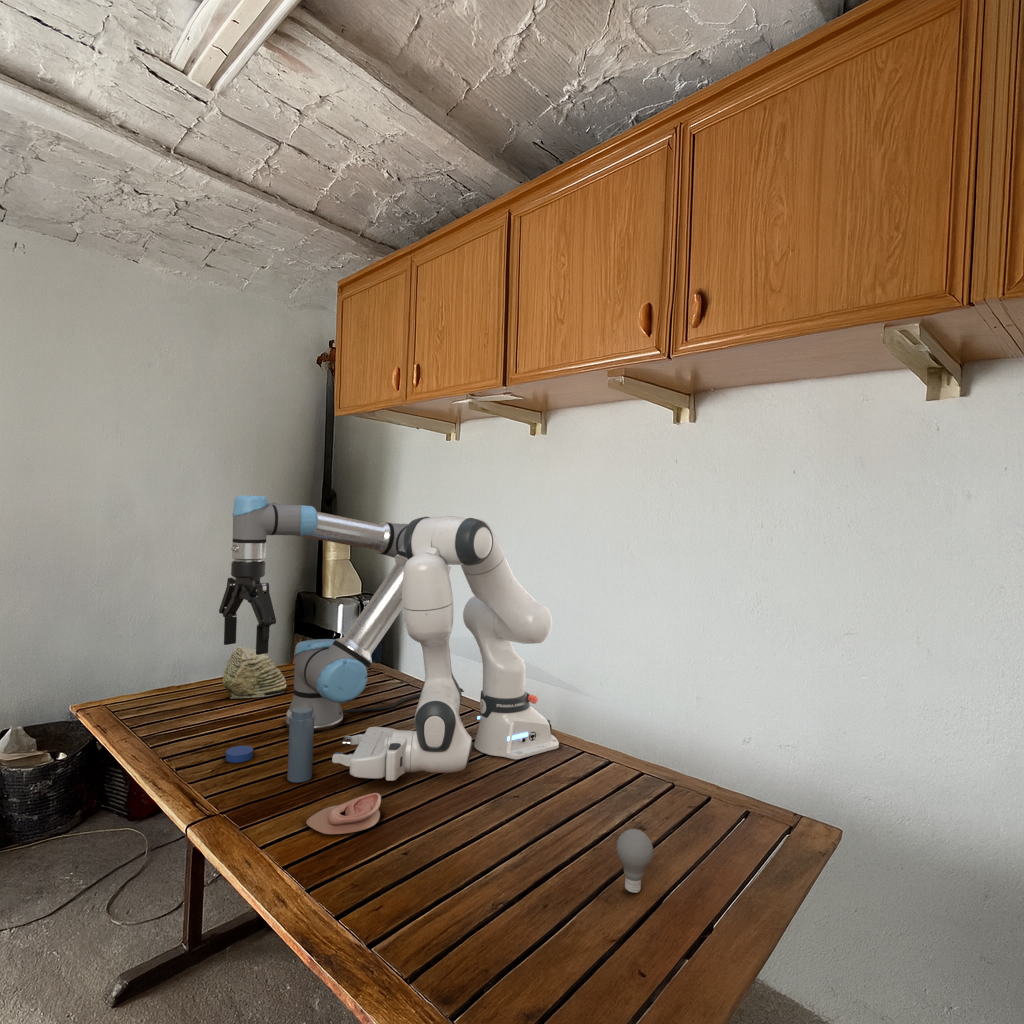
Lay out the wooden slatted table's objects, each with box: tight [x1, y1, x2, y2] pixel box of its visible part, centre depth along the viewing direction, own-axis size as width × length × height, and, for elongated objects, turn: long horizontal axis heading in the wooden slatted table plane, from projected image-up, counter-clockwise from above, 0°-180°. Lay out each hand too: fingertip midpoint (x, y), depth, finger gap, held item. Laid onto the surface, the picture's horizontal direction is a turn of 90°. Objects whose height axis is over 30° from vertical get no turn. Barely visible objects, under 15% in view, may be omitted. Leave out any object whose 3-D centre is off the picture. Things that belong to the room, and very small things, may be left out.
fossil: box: [222, 646, 288, 699], centre depth 198 cm, size 9×18×15 cm, turn 132°
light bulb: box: [615, 828, 654, 894], centre depth 106 cm, size 6×6×10 cm
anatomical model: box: [305, 792, 382, 835], centre depth 124 cm, size 13×4×12 cm
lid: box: [225, 745, 254, 764], centre depth 151 cm, size 6×6×2 cm
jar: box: [286, 706, 315, 784], centre depth 142 cm, size 5×5×15 cm
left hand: (245, 648), depth 151 cm, fingers open, 13 cm apart
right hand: (338, 749), depth 143 cm, fingers open, 8 cm apart
